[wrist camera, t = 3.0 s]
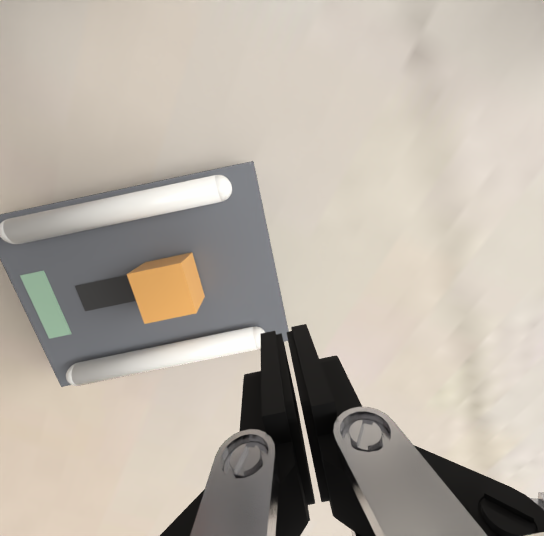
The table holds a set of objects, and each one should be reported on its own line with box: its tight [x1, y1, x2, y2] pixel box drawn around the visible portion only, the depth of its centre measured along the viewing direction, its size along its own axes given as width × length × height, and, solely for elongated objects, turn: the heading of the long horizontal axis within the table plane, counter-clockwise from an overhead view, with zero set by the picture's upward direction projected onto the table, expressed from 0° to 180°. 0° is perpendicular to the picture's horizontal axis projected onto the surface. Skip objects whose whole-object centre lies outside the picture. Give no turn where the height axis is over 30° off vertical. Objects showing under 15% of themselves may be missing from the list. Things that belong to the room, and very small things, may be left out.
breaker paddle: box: [127, 252, 205, 324], centre depth 23 cm, size 4×4×4 cm
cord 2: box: [66, 326, 265, 386], centre depth 25 cm, size 18×2×2 cm, turn 101°
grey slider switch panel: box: [0, 161, 289, 387], centre depth 27 cm, size 22×16×6 cm
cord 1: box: [0, 175, 232, 244], centre depth 22 cm, size 18×2×2 cm, turn 101°
